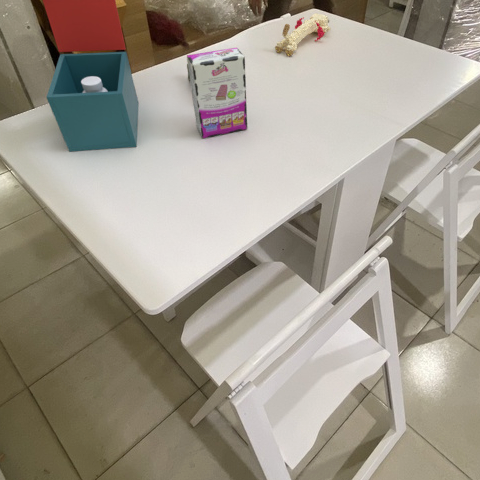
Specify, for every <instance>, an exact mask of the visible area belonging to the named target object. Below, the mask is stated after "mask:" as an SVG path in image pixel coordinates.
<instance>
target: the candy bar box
mask: <svg viewBox="0 0 480 480" xmlns="http://www.w3.org/2000/svg"><path fill="white" fill-rule="evenodd" d="M245 57H246V56H245V54H243V53H242V51H240V49H239V48H238V47H232V48H225V49H218V50H212V51H206V52H205V51H204V52H199V53H192V54H187V55H186V63H187V64H188V69H189V76H190V81H189V82H190V89H191V95H192V103H193V110H194V118H195V124H196V125H195V126H196V129H197V131H198V132H199V135H200V136H201V138H202V139H208V138H212V137H217V136H221V135H226V134H231V133H235V132H240V131H245V130H248V114H247V111H248V109H247V85H246V84H247V81H246V59H245Z"/></svg>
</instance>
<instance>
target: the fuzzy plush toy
mask: <svg viewBox="0 0 480 480" xmlns="http://www.w3.org/2000/svg"><path fill="white" fill-rule="evenodd" d="M302 20H304V21H303V22H302ZM329 23H330V19H329V17H328V16H327V15H324V14H321V13H317V12H316V13H313V14H312V15H311V16H310V17H309V19H305V17H304V16H303V17H301V18H299V19H297V20H296V24H295V25H294V30H293V31H292V32H291V33H290V34H289V31H290V28H291V25H290V24H288V23H286V24H284V26H283V29H282V37H283V39H281V41H278V42H276V45H275V46H274V50H275V51H276V53H277V54H280V53H282V52H283V49H284V50H285V51H284V53H285V54H286V56H287V57H289V58H290V57H291V56H292V55H293V54H294V52H295V51H296V50H297V49H298V44H299V43H300V42H301V41H302V40H303V39H304V38H306V37H307V36H309V35H311V34H312V33H317V37H316V39H315V40H314V42H318V41H319V40H320V41H321V39H322V38H323V37H324V36H325V35H326V33H327V32H330V31H331V29H332V27H331V26H329Z"/></svg>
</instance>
